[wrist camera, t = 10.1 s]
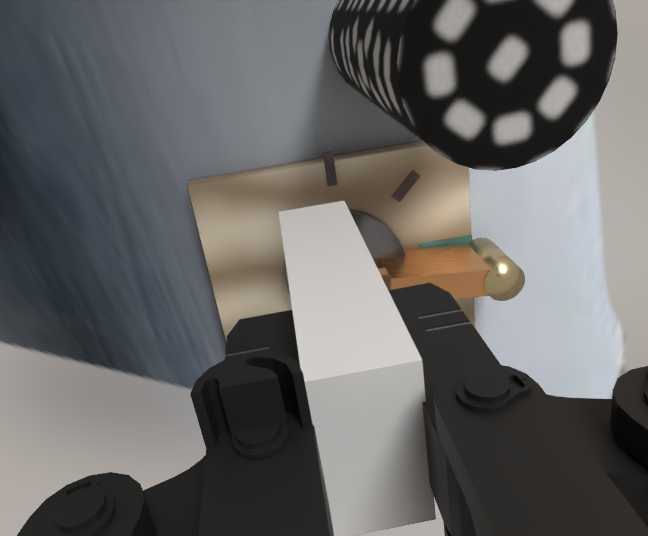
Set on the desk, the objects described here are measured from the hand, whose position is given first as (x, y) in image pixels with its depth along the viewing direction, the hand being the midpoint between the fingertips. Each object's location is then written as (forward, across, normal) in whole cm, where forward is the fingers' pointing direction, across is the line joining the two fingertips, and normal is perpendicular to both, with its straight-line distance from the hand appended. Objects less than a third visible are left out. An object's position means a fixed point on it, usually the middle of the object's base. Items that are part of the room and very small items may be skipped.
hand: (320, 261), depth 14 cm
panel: (+29, +3, -13) cm, 32 cm away
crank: (+28, +7, -13) cm, 31 cm away
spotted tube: (+30, +8, +2) cm, 31 cm away
